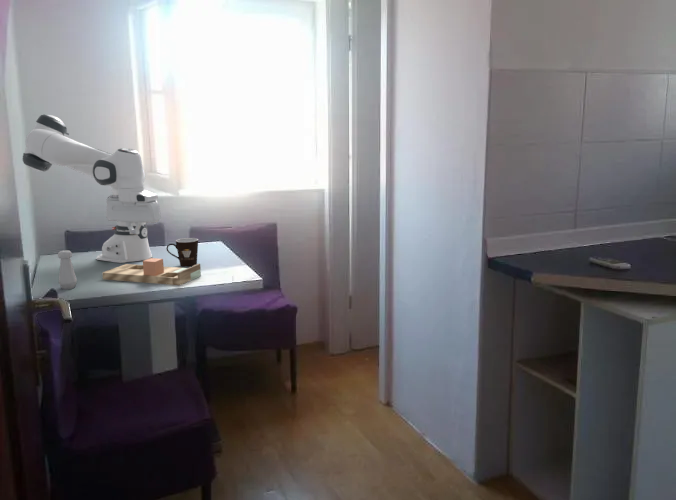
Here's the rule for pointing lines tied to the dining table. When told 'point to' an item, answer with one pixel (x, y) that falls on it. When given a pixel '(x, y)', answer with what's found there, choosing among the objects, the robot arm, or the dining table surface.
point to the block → (153, 266)
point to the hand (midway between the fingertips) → (134, 234)
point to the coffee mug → (186, 251)
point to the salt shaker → (66, 271)
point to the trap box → (168, 277)
